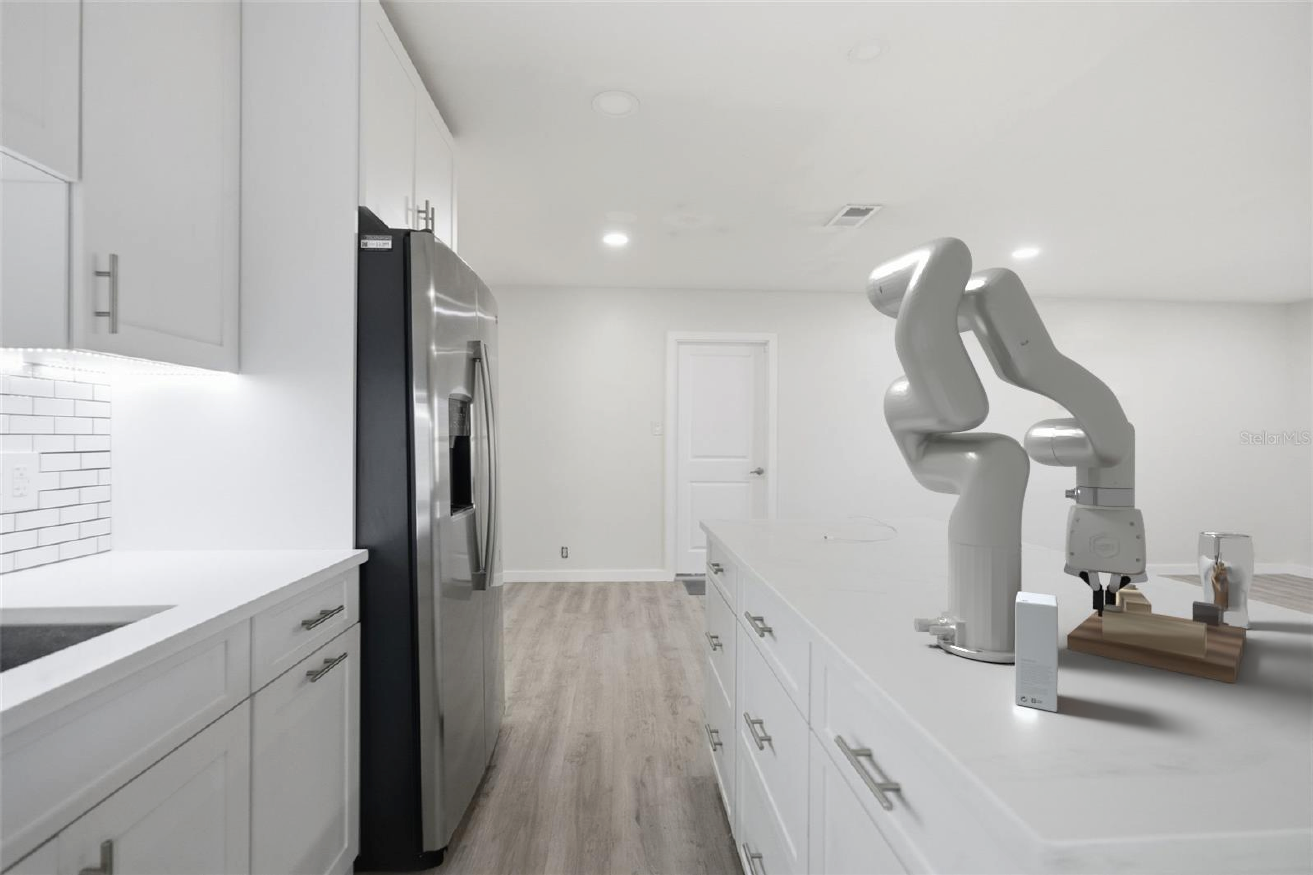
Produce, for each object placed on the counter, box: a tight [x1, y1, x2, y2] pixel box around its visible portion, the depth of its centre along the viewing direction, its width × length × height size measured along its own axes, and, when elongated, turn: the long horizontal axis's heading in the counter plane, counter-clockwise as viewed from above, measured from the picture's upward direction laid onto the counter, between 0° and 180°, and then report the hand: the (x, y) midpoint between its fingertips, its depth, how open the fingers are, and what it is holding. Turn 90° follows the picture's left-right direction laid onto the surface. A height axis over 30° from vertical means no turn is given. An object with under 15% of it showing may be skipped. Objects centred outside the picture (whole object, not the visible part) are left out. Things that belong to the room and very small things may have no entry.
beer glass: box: [1197, 531, 1255, 630], centre depth 104 cm, size 7×7×15 cm
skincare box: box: [1014, 591, 1059, 713], centre depth 73 cm, size 6×4×12 cm
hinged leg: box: [1116, 583, 1153, 615], centre depth 98 cm, size 12×3×5 cm, turn 150°
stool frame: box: [1066, 600, 1247, 684], centre depth 93 cm, size 24×18×7 cm
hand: (1104, 615), depth 98 cm, fingers closed
